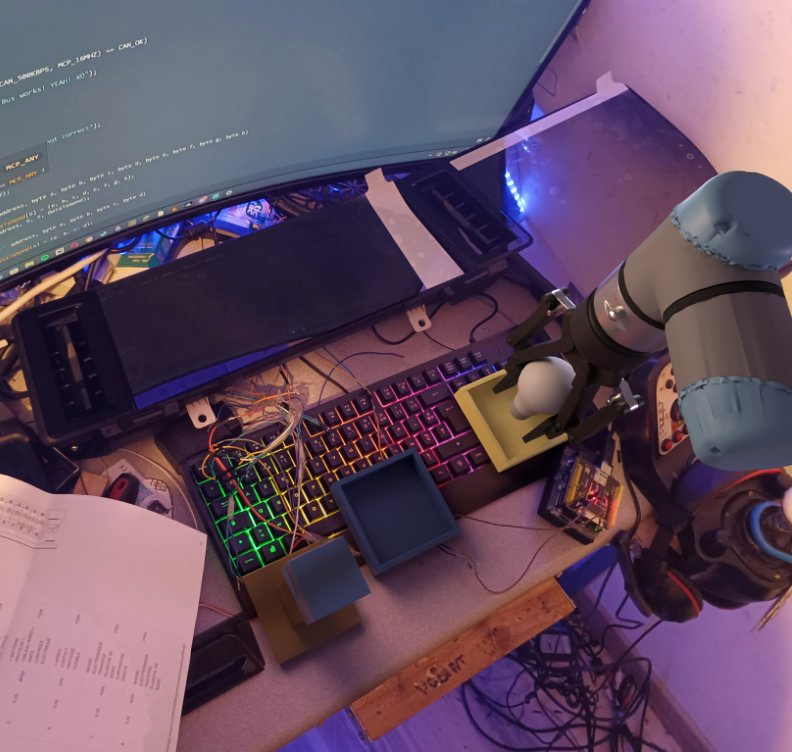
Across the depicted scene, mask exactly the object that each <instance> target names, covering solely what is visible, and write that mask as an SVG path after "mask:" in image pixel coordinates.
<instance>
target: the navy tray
mask: <svg viewBox="0 0 792 752" xmlns="http://www.w3.org/2000/svg"><path fill="white" fill-rule="evenodd" d="M329 491H330V494H331V495H332V498H333V500H334V502H335V504H336V506H337V508H338V511H339V512H340V514H341V516H342V518H343V520H344V522H345V524H346V526H347V528H348V530H349V532H350V535H351V536H352V538H353V540H354V543H355V544H356V545H357V548H358V550H359V552H360V554H361V556H362V558H363V560H364V562H365V564H366V566H367V568H368V570H369V572H370V574H371V577H372V578H375V577H376V576H378V575H380V574H382V573H384V572H387V571H388V570H390V569H392V568H394V567H396V566H398V565H400V564H402V563H404V562H406V561H408V560H410V559H412V558H414V557H417V556H418V555H420V554H422V553H424V552H427V551H428V550H430V549H432V548H434V547H436V546H438V545H441V544H442V543H445V542H446V541H448V540H451V539H452V538H455V537H456V536H458V535H460V534H461V533H462V530H461V528H460V527H459V524H458V523H457V520H456V519H455V516H454V514H453V513H452V511H451V510H450V507H449V506H448V504H447V502H446V500H445V499H444V497H443V495H442V494H441V491H440V490H439V487H438V486H437V483H435V481H434V478H433V477H432V475H431V473H430V472H429V470H428V468H427V465H426V464H425V462H424V461H423V459H422V457H421V455H420V453H419V451H418V449H417V448H416V446H412V447H410V448H408V449H406V450H404V451H402V452H399V453H397V454H394V455H392V456H390V457H388V458H386V459H383V460H381V461H379V462H376V463H374V464H372V465H370V466H368V467H366V468H363V469H361V470H359V471H357V472H355V473H352V474H350V475H348V476H346V477H343V478H340V479H338V480H336V481H334V482H333V483H332V484H331V485H330V486H329Z"/></svg>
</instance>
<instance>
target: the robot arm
mask: <svg viewBox="0 0 792 752" xmlns="http://www.w3.org/2000/svg"><path fill="white" fill-rule="evenodd" d="M791 261H792V191H791V190H790V189H789V188H787V187H786V186H785V185H784V184H782V183H781V182H780V181H778V180H777V179H775V178H773V177H770V176H769V175H766V174H763V173H760V172H757V171H746V170H741V169H740V170H739V169H738V170H728V171H724V172H721V173H719V174H717V175H715V176H713V177H711V178H710V179H708V180H707V181H705V182H704V184H702V185H701V186H700V187H698V189H697V190H695V191H694V192H693V193H692V194H690V195H689V196H688V197H687V198H685V199H684V200H682V201H681V202H679V203H677V204H676V205H675V206H674V207H673V209H672V211H671V213H670V214H669V215H668V216H667V217H666V218H665V219H664V220H663V222H661V223H660V224H659V225H658V227H656V229H654V230H653V231H652V232H651V233H650V234H649V235H648V237H646V238H645V239H644V240H643V242H641V243H640V244H639V246H638V247H636V249H634V251H632V252H631V254H629V255H628V256H627V257H625V259H624V260H623V261H621V262H620V264H619V265H618V266H617V267H616V268H615V269H614V270H613V271H611V273H610V274H609V275H607V277H606V278H605V279H604V280H603V281H602V282H601V283H600V284H599V285H598V286H597V287H595V288H594V289H593V290H592V291H591V292H590V293H589V294H588V295H587V296H586V297H585V298H584V299H583V300H581V302H580V303H579V304H576V305H575V304H574V302H572V301H571V300H570V297H571V292H570V290H569V288H568V287H567V286H562V287H559V288H558V289H557V288H556V289H555V290H551V291H550V292H547V293H545V294H542V296H541V298H540V300H539V303H538V305H537V308H536V309H535V310H534V311H533V312H532V313H531V314H530V315H529V316H527V318H526V319H525V320H524V321H522V322H521V323H520V324H519V325H518V326H517V327H516V328H515V329H514V330H513V331H512V332H510V333H509V335H508V336H506V338H505V340H506V341H505V342H506V344H507V345H508V347H510V348H512V349H513V354H512V357H510V359H509V360H508V361H506V363H505V364H504V366H503V369H505V371H506V373H507V375H506V376H505V377H504V378H503V379H502V380H501V381H500V382H499V383H498V384H497V385H496V386H495V387H494V388H493V389H492V390H493V391H494V393H495V395H496V394H498V393H500V392H502V391H505V390H507V389H509V388H511V387H514V386H515V385H516V384H517V383H518V380H519V377H520V374H521V372H522V370H523V369H524V368H525V366H526V365H528V364H529V363H530V362H531V361H533V360H535V359H538V358H541V357H549V356H554V355H558V354H562V355H563V357H564V358H565V360H566V361H567V362H568V363H569V364H570V365H571V366H572V368H573V370H574V372H575V374H576V375H575V377H574V379H573V381H572V383H571V386H572V389H571V391H570V393H569V395H568V397H567V399H566V401H565V403H564V405H563V407H562V409H561V411H560V413H558V414H556V415H553V416H551V417H549V418H547V419H546V420H545V421H543V422H542V423H541V424H539V425H538V426H537V427H535V428H534V429H533V430H531V431H530V432H529V433H527V434H526V435H525V436H523V437H522V439H523V441H524V443H525V444H526V443H528V442H530V441H532V440H534V439H536V438H538V437H541V436H543V435H546V437H547V438H548V439H549V440H551V439H554V438H556V437H558V436H560V435H562V434H563V433H566V434H568V435H567V438H568V440H567V441H568V442H569V444H571V445H573V446H574V445H577V444H579V443H581V442H584V441H585V440H587V439H590V438H591V437H593V436H595V435H597V434H598V433H599V432H600V431H601V430H603V429H605V427H607V426H608V425H609V424H611V423H612V422H613V421H615V420H616V419H617V418H622V417H624V416H627V415H629V414H631V413H633V412H635V411H637V410H639V409H641V408H644V406H645V400H644V398H643V396H641V395H640V394H634V395H633V392H632V390H631V388H630V387H631V386H630V385H629V381H631V378H632V376H633V373H634V371H635V370H637V369H638V368H639V367H641V366H642V365H643V364H645V363H646V362H648V361H649V360H651V359H652V358H653V357H655V356H656V355H658V354H659V353H660V352H662V351H663V350H665V349H666V348H667V349H668V353H669V359H670V363H671V368H672V375H673V378H674V383H675V389H676V393H677V406H678V409H679V413H680V415H681V416H682V417H683V418H684V422H685V426H686V429H687V433H688V436H689V437H688V438H689V440H690V443H691V447H692V450H693V453H694V455H695V456H696V458H697V459H698V460H699V461H700V462H701V463H703V464H704V465H706V466H708V467H709V468H713V469H716V470H720V471H727V472H747V471H754V470H756V471H757V470H759V471H766V470H775V469H780V468H781V469H782V468H786V467H790V466H792V313H791V309H790V305H789V303H788V299H787V297H786V294H785V290H784V287H783V282H782V279H781V277H780V272H779V270H780V268H783V267H785V266H786V265H787V264H790V262H791ZM559 316H562V321H561V323H562V324H561V333H560V335H561V336H559V337H556V338H552V339H548V340H546V341H543V342H539V343H535V344H531V340H532V339H533V338H534V337H535V336H537V334H539V333H540V332H541V331H542V330H543V329H544V328H546V327H547V326H548V325H549V324H550V323H551V322H553V321H554V320H555V319H556V318H557V317H559ZM601 387H607V388H610V389H612V394H610V395H609V398H608V399H607V400H605V405H604V406H601V407H600V408H598V409H597V410H596V411H594V412H593V413H592V414H591V415H590V416H588V418H586V419H585V420H584V421H583V419H584V417H585V416H586V414H587V411H588V410H589V409H590V406H591V405H592V403H593V401H594V399H595V397H596V396H597V393H598V392H599V390H600V388H601Z"/></svg>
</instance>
